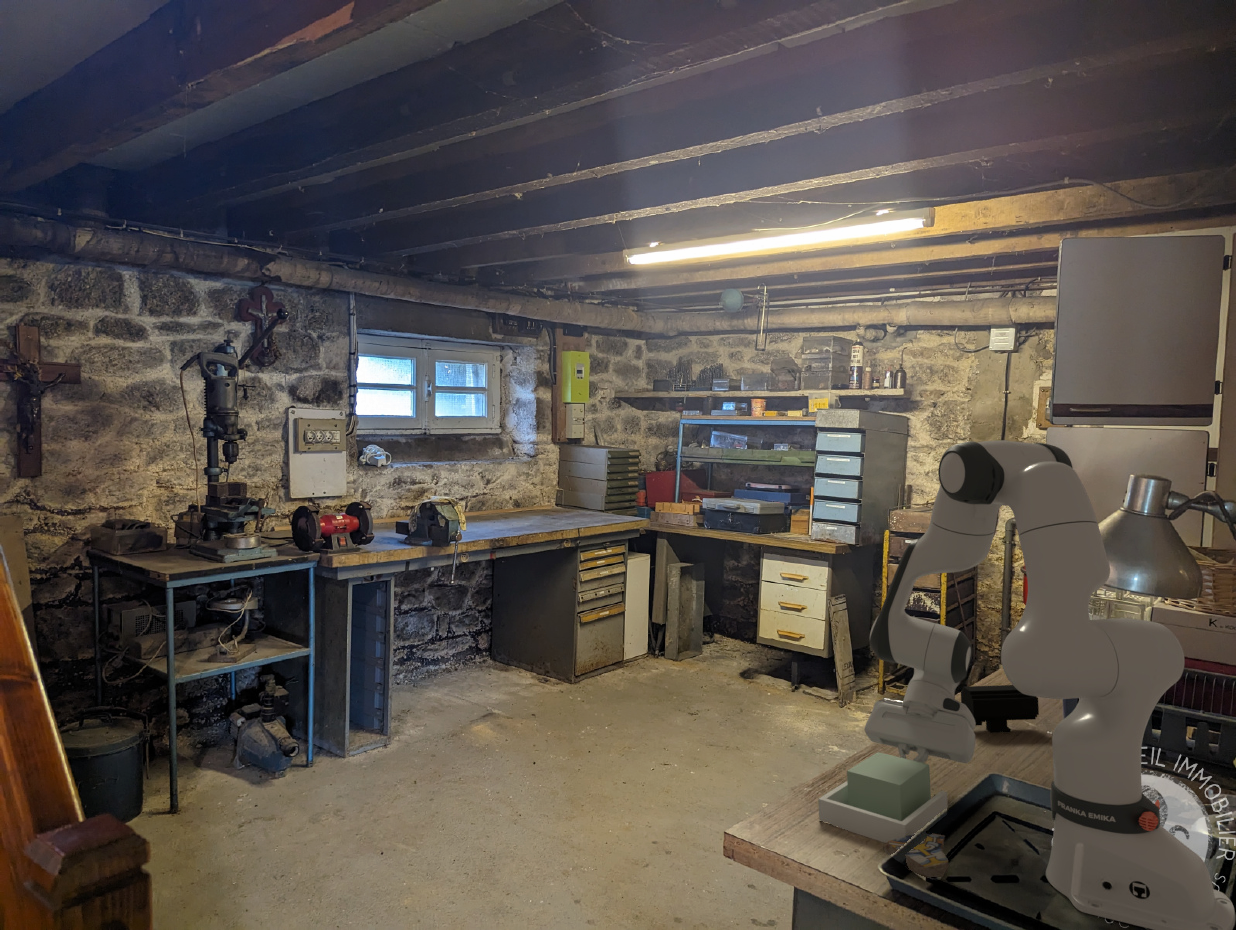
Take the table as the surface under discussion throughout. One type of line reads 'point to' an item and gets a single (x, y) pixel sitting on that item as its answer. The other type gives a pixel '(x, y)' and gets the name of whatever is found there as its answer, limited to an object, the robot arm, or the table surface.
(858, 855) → the table surface
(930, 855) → the ceramic tile fragment
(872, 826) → the box
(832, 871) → the table surface
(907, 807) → the block
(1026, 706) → the security camera
